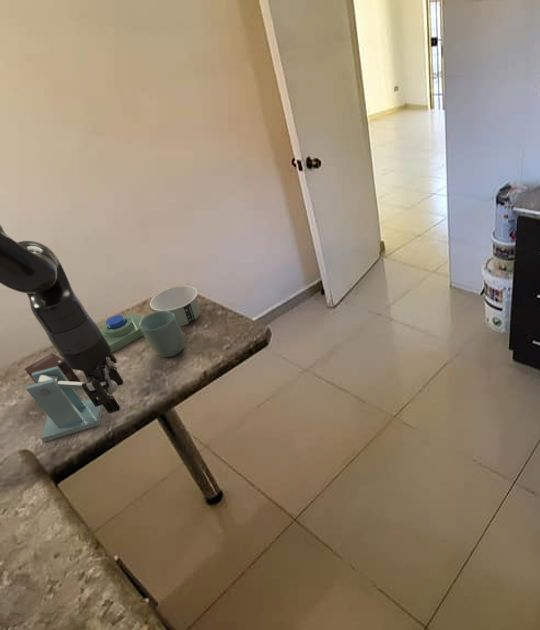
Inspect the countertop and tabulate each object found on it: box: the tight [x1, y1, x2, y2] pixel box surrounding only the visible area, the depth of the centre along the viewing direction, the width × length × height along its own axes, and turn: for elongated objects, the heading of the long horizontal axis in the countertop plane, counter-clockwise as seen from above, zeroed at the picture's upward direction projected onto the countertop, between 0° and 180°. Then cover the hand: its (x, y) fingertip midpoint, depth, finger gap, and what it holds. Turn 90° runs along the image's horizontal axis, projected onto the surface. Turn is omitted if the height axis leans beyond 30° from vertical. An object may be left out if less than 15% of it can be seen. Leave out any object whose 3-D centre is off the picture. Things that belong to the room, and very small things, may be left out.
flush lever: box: [38, 375, 119, 395], centre depth 89 cm, size 13×3×3 cm
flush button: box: [105, 314, 126, 329], centre depth 113 cm, size 4×4×2 cm
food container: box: [149, 285, 201, 327], centre depth 120 cm, size 12×12×6 cm
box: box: [24, 352, 82, 384], centre depth 99 cm, size 6×6×7 cm
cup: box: [139, 311, 186, 358], centre depth 107 cm, size 8×8×10 cm
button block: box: [99, 312, 144, 354], centre depth 114 cm, size 12×9×4 cm
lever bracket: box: [25, 366, 104, 443], centre depth 89 cm, size 10×8×13 cm
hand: (116, 397), depth 94 cm, fingers open, 8 cm apart
